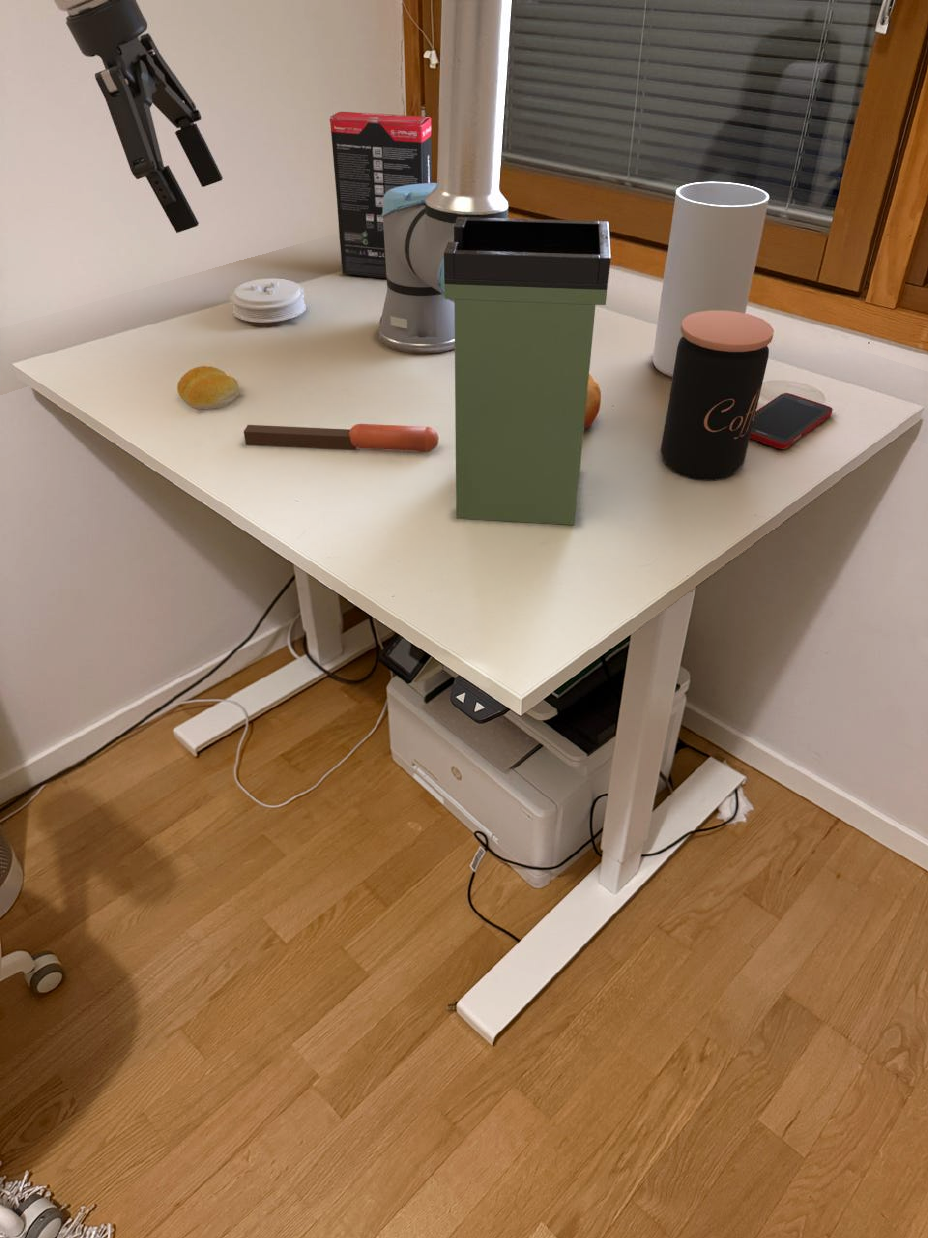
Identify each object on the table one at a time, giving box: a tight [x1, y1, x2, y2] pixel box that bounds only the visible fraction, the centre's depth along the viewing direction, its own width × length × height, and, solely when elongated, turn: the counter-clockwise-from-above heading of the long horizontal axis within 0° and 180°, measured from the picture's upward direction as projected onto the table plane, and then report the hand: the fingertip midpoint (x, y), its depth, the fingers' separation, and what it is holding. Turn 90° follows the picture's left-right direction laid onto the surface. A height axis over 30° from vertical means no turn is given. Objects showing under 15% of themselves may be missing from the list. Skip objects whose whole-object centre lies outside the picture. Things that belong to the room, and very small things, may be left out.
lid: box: [229, 277, 307, 324], centre depth 152 cm, size 13×13×5 cm
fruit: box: [584, 373, 602, 429], centre depth 121 cm, size 8×8×8 cm
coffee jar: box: [660, 310, 775, 481], centre depth 109 cm, size 11×11×18 cm
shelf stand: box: [444, 284, 608, 526], centre depth 99 cm, size 16×12×28 cm
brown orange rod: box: [243, 423, 440, 452], centre depth 117 cm, size 26×3×3 cm, turn 84°
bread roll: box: [176, 365, 240, 410], centre depth 128 cm, size 8×9×4 cm
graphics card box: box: [329, 111, 433, 279], centre depth 161 cm, size 17×7×27 cm, turn 77°
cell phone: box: [750, 392, 833, 450], centre depth 122 cm, size 8×15×1 cm, turn 137°
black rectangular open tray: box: [444, 217, 612, 291], centre depth 90 cm, size 16×12×3 cm
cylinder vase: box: [652, 181, 770, 378], centre depth 129 cm, size 12×12×25 cm
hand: (200, 204), depth 105 cm, fingers open, 13 cm apart
